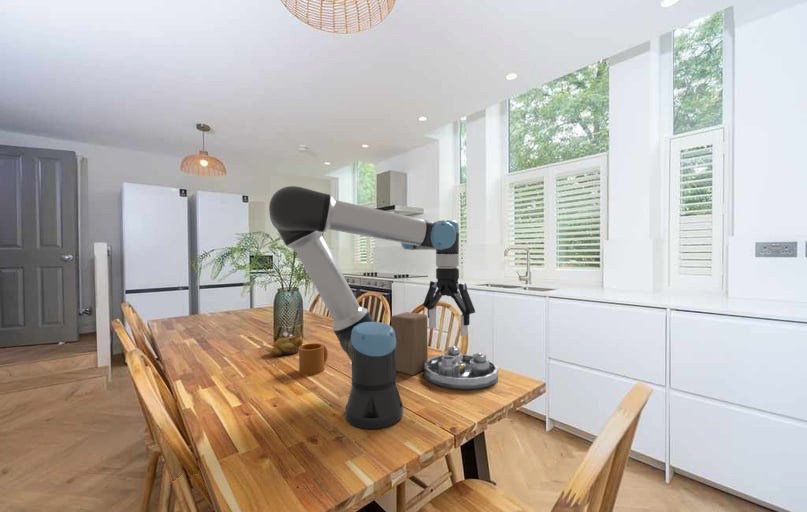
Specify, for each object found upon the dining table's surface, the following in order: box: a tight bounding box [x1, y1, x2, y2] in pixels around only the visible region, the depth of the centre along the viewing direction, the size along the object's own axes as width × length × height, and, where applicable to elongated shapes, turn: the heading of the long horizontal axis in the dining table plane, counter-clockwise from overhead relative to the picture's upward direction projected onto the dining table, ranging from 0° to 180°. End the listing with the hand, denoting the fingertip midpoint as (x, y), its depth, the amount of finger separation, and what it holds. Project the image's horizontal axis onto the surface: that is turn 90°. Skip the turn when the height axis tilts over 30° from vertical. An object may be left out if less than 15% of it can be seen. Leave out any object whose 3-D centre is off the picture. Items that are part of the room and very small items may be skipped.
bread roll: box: [270, 334, 304, 357], centre depth 143 cm, size 13×10×8 cm
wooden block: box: [390, 311, 429, 376], centre depth 122 cm, size 10×10×20 cm
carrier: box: [423, 346, 499, 391], centre depth 116 cm, size 25×25×8 cm
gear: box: [438, 356, 459, 378], centre depth 111 cm, size 7×7×6 cm
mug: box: [298, 342, 329, 376], centre depth 123 cm, size 9×12×9 cm
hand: (447, 331), depth 111 cm, fingers open, 13 cm apart
